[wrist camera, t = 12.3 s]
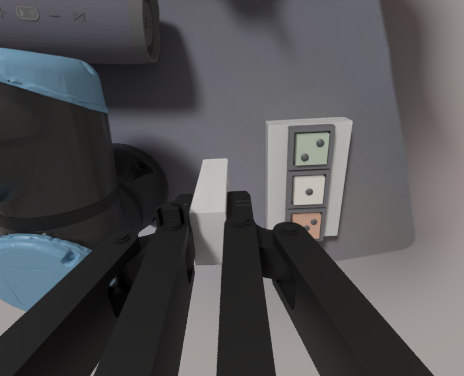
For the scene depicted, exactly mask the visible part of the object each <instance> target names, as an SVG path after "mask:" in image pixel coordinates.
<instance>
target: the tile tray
mask: <svg viewBox="0 0 464 376" xmlns="http://www.w3.org/2000/svg"><path fill="white" fill-rule="evenodd" d="M352 122H353V121H351V120H350V119H348V118H346V117H334V118H314V119H295V120H275V121H266V190H265V229H270V230H273V228H274V226H275V225H276V224H278V223H281V222H290V219H291V213H313V212H320V214H321V224H320V234H319V239H315V240H316V241H323V237H324V236H337V233H338V226H339V218H340V211H341V203H342V196H343V189H344V181H345V174H346V166H347V159H348V152H349V144H350V137H351V129H352ZM315 131H327V132H328V133H329V134H330V136H329V146H328V155H327V164H319V165H298V166H296V165H295V163H294V162H293V155H294V133H295V132H315ZM319 174H323V175H324V177H325V185H324V195H323V204H307V205H294V204H293V202H292V199H291V198H292V176H298V175H319Z"/></svg>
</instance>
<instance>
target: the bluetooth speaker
mask: <svg viewBox="0 0 464 376" xmlns="http://www.w3.org/2000/svg"><path fill="white" fill-rule="evenodd" d="M0 48H7V49H15V50H22V51H29V52H36V53H42V54H49V55H55V56H62V57H68V58H73V59H78V60H82V61H84V62H86V63H91V64H149V63H156V62H157V61H158V58H159V55H160V48H161V40H160V30H159V6H158V1H157V0H0Z"/></svg>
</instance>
